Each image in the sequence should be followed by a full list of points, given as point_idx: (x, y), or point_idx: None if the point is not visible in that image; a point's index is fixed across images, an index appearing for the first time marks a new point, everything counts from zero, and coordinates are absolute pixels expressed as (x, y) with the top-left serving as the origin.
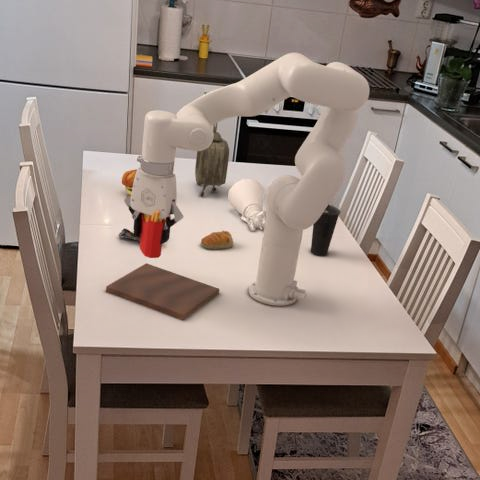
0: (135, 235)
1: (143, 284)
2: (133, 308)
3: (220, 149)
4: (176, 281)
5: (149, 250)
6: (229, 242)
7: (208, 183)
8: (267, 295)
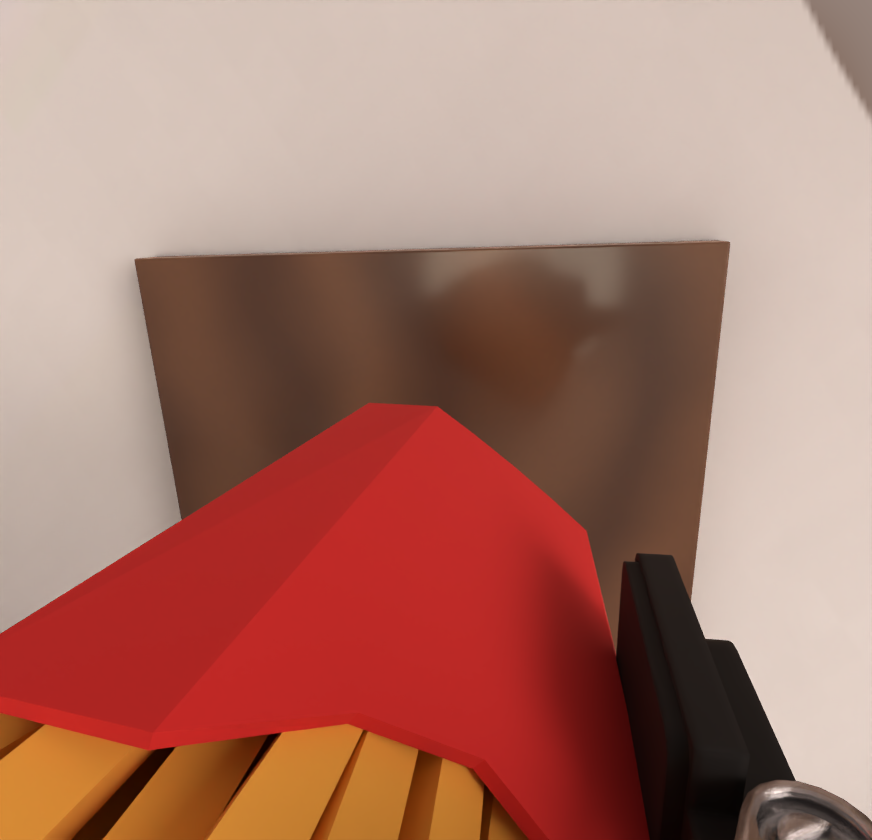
0: (639, 553)
1: (535, 434)
2: (443, 173)
3: None
4: None
5: (357, 425)
6: None
7: None
8: None
